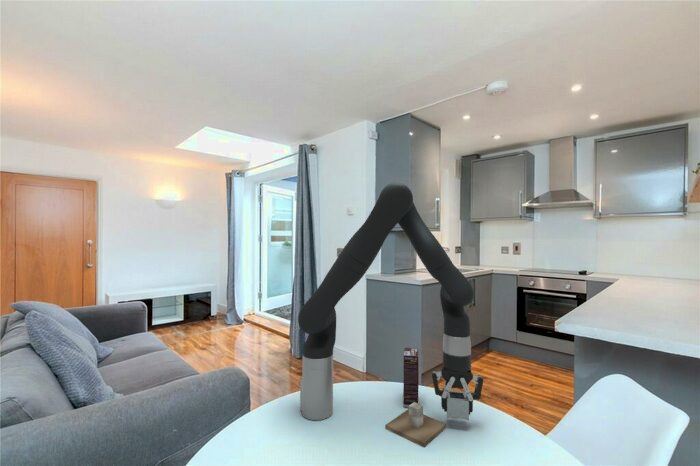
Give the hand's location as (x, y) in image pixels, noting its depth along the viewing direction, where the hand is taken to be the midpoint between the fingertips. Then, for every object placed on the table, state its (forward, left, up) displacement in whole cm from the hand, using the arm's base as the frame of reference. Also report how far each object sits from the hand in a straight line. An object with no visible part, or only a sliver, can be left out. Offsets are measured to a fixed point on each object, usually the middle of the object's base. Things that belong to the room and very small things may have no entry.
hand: (456, 411), depth 89 cm
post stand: (-8, -9, -4) cm, 12 cm away
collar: (0, 0, -1) cm, 1 cm away
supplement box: (-17, +3, -4) cm, 17 cm away
